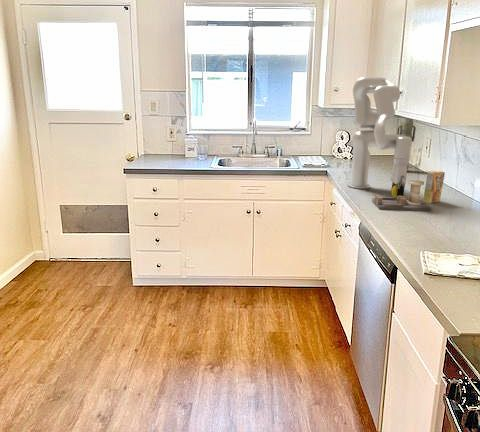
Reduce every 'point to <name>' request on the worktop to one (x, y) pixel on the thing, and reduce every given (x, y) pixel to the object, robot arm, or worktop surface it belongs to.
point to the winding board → (397, 204)
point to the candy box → (433, 186)
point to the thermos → (407, 129)
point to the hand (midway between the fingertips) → (397, 194)
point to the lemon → (394, 191)
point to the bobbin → (414, 192)
